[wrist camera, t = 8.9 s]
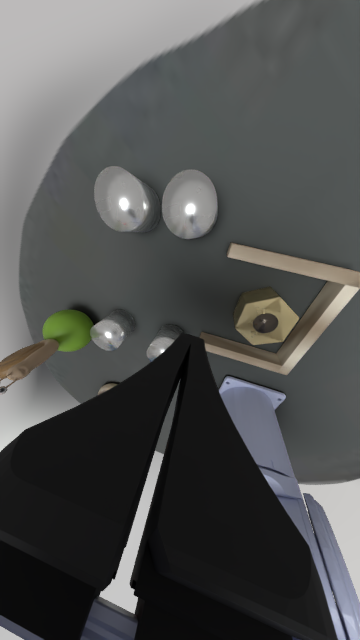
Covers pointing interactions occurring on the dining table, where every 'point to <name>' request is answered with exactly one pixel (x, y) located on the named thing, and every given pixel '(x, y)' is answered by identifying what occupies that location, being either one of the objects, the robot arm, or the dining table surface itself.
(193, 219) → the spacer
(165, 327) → the cylinder
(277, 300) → the brass nut
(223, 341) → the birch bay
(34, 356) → the snail figurine
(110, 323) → the cylinder
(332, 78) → the dining table surface
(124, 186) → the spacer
